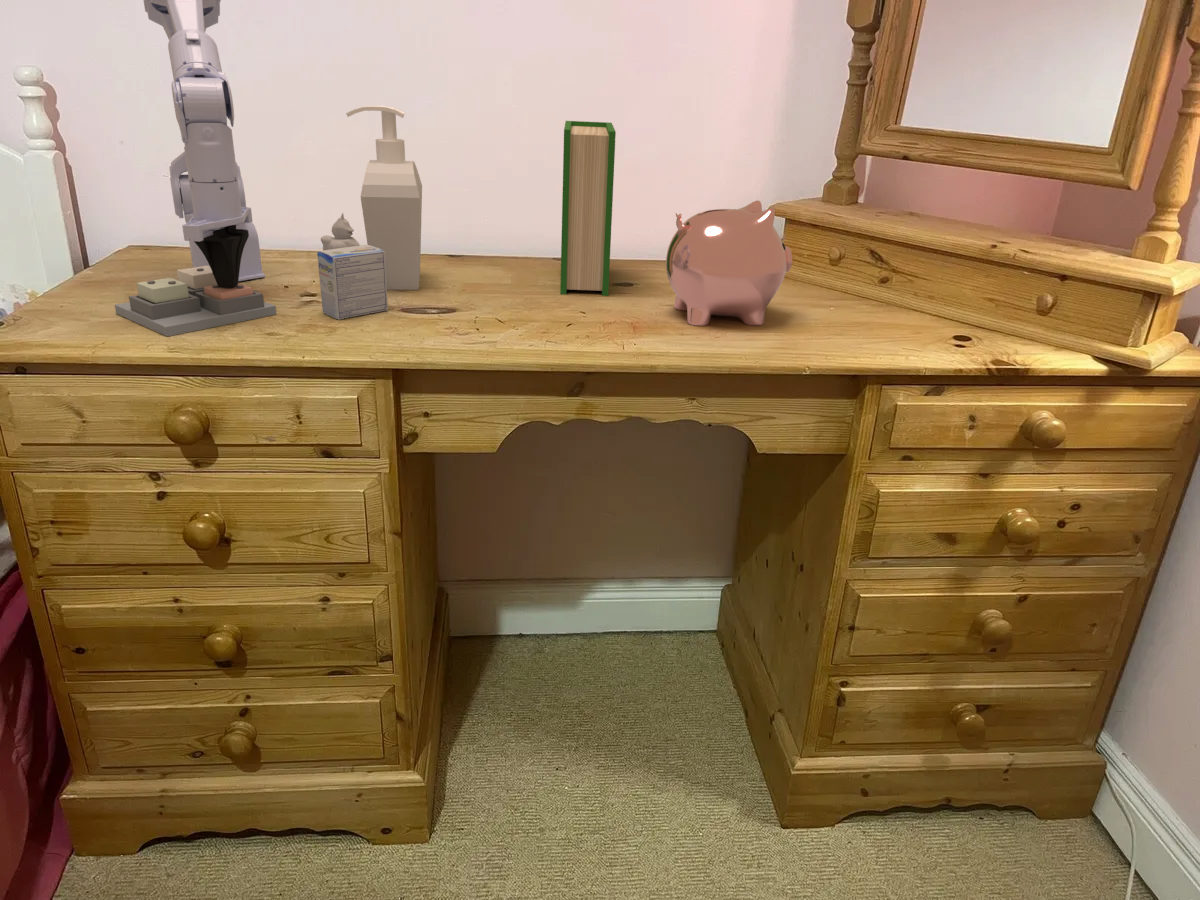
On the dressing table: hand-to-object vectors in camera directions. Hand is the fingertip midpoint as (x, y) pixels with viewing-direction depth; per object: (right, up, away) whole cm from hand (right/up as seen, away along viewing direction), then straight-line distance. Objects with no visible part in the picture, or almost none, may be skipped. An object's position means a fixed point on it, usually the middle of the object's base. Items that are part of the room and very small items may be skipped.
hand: (228, 286), depth 117 cm
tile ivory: (-5, +1, +4) cm, 7 cm away
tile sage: (-7, -2, -2) cm, 8 cm away
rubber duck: (+5, +11, +35) cm, 37 cm away
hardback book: (+47, +6, +27) cm, 54 cm away
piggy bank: (+67, -2, +12) cm, 68 cm away
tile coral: (0, -2, +1) cm, 2 cm away
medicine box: (+15, -3, +6) cm, 17 cm away
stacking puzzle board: (-5, -3, +2) cm, 6 cm away
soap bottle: (+17, +4, +21) cm, 27 cm away
